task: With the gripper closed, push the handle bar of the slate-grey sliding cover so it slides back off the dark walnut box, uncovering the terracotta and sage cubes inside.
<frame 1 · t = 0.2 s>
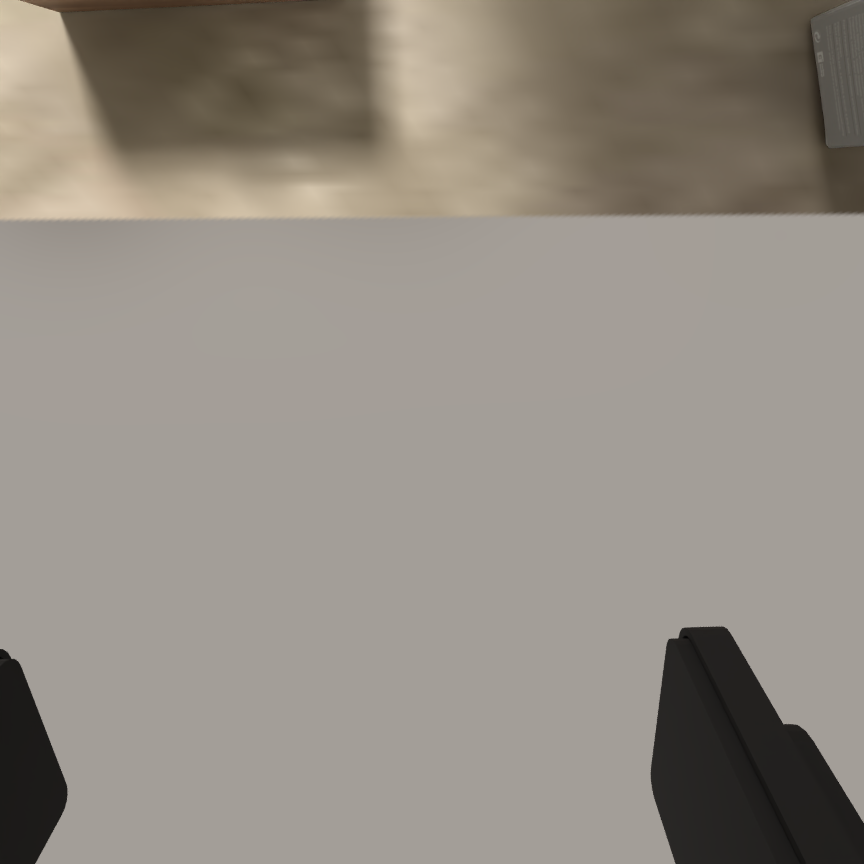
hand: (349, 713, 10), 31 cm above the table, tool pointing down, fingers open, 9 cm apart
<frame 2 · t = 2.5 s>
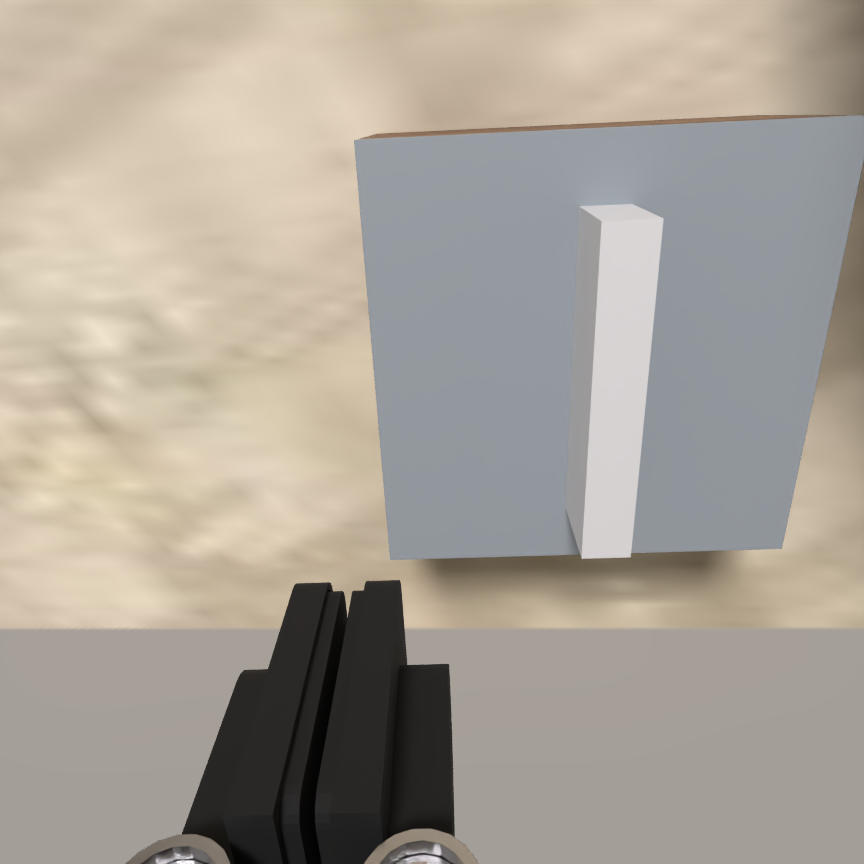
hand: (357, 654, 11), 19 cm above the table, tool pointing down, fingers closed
cover: (602, 382, 20), point 8 cm above the table, slide at 0.0 cm
box: (559, 310, 28), on the table
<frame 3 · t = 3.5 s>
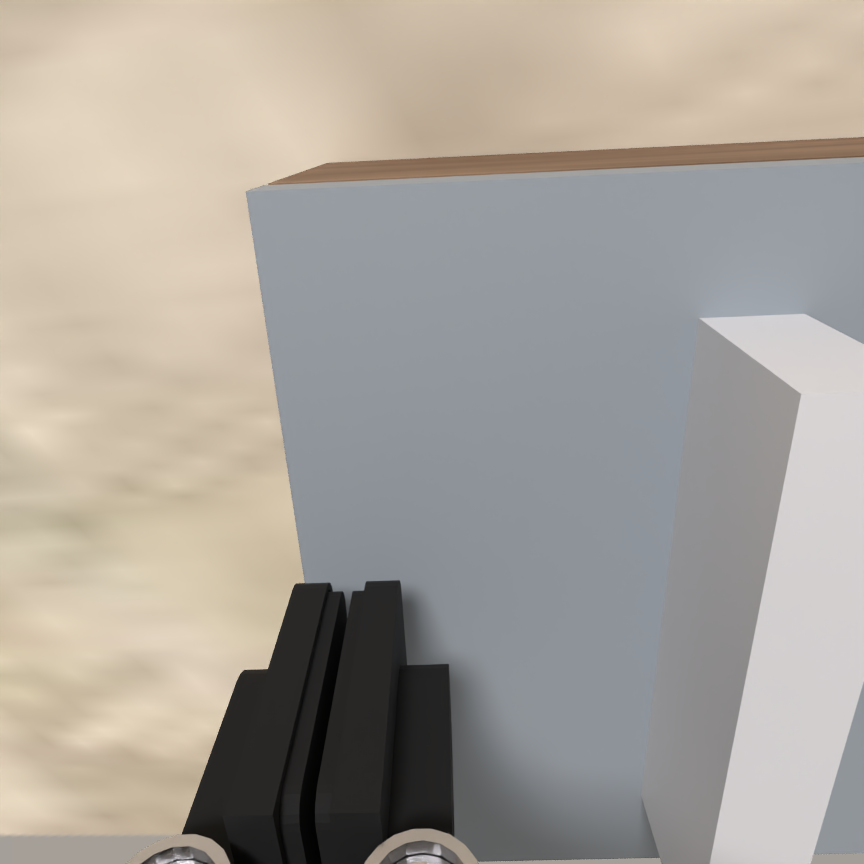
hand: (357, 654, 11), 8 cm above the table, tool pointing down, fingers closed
cover: (730, 636, 11), point 8 cm above the table, slide at 0.0 cm
box: (610, 426, 18), on the table
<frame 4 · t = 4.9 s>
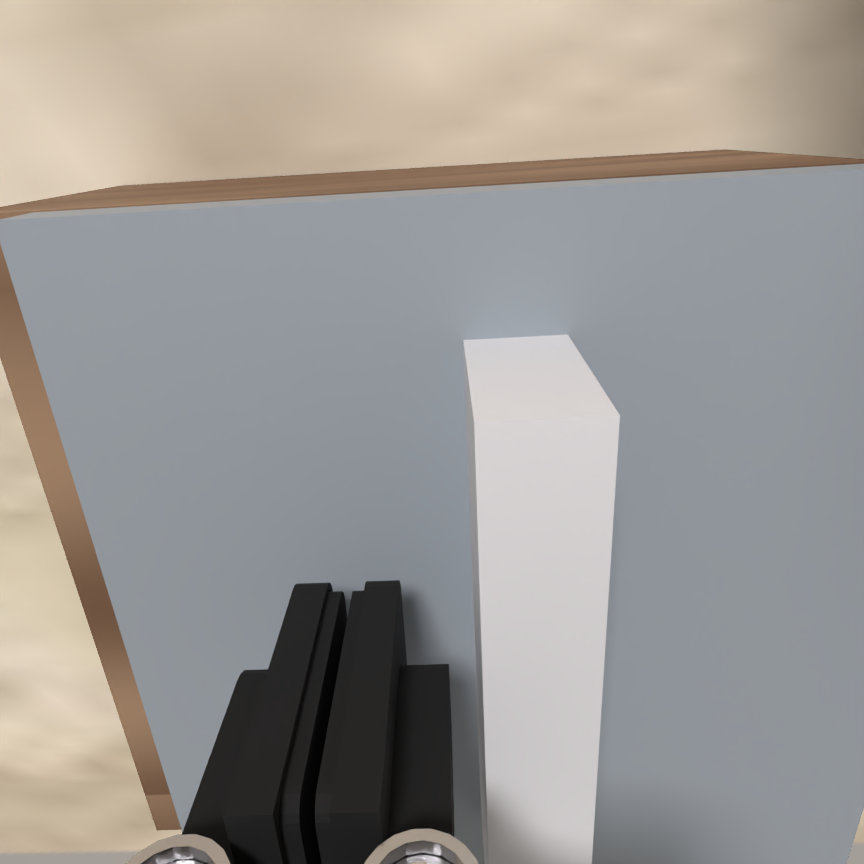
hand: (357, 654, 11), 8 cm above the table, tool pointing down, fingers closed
cover: (523, 656, 11), point 8 cm above the table, slide at 1.4 cm, touching gripper
box: (435, 442, 18), on the table
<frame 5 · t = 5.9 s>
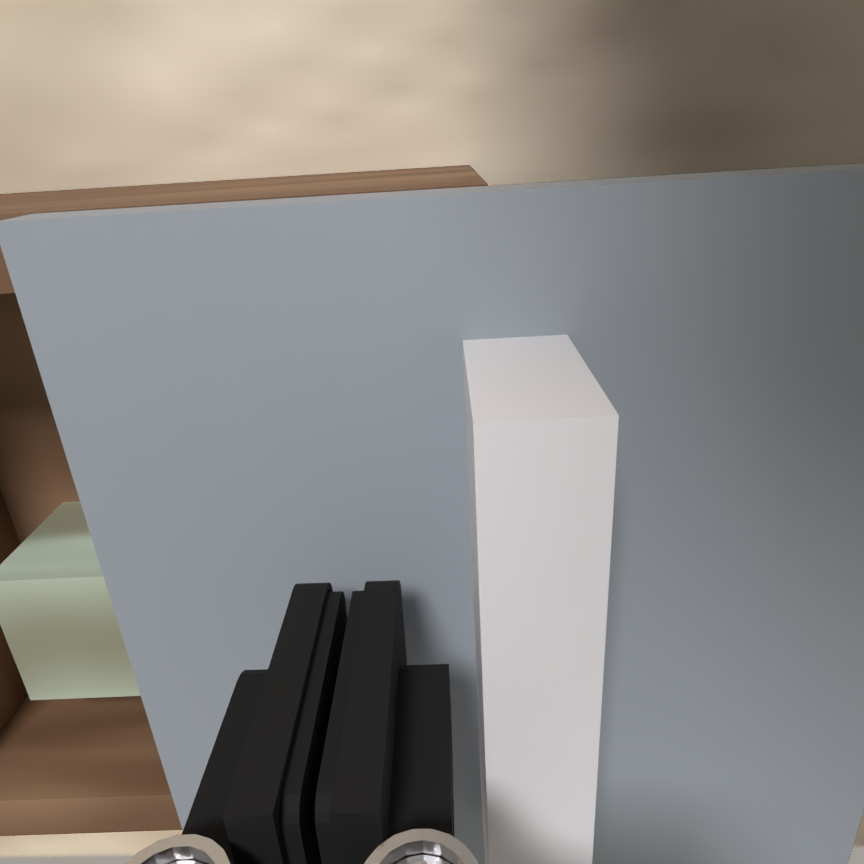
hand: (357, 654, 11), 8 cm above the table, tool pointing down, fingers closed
cover: (523, 656, 11), point 8 cm above the table, slide at 7.3 cm, touching gripper
box: (224, 452, 19), on the table
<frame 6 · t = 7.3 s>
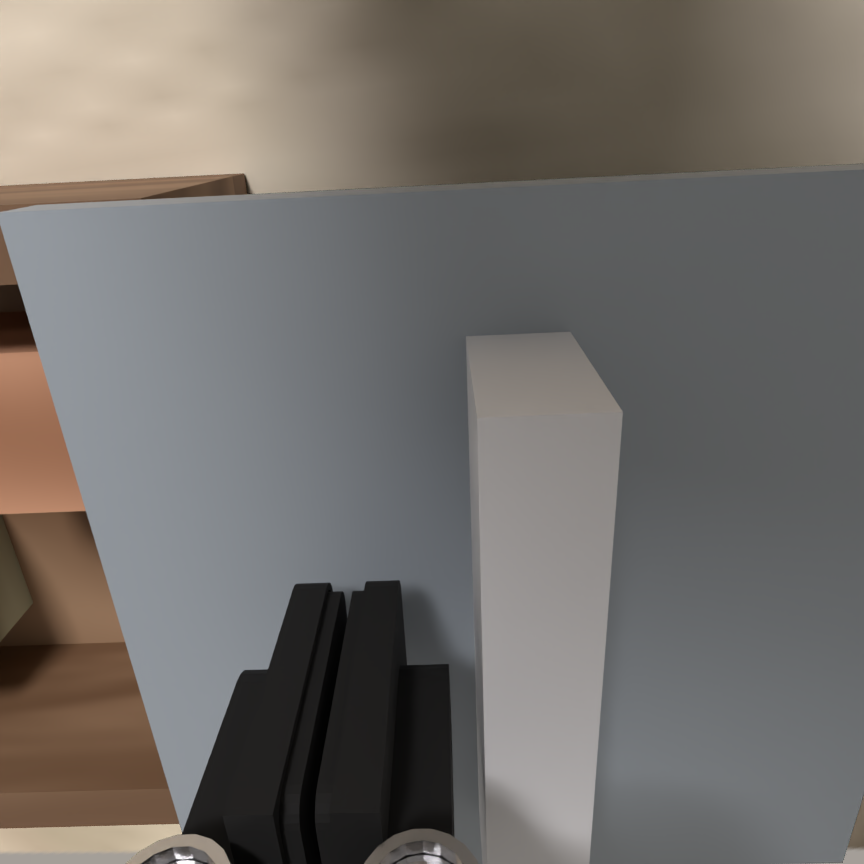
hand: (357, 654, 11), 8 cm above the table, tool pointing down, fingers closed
cover: (523, 652, 11), point 8 cm above the table, slide at 12.6 cm, touching gripper
box: (34, 455, 19), on the table
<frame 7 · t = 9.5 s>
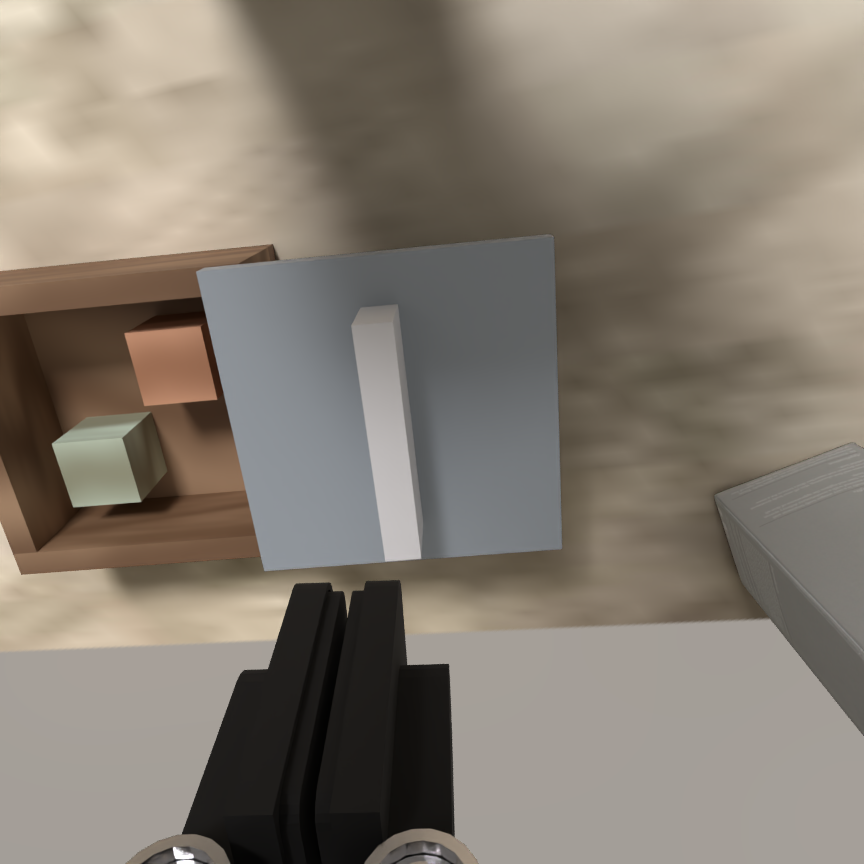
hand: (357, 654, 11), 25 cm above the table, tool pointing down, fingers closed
skincare box: (793, 503, 39), on the table
cover: (392, 430, 28), point 8 cm above the table, slide at 12.7 cm
box: (168, 390, 36), on the table
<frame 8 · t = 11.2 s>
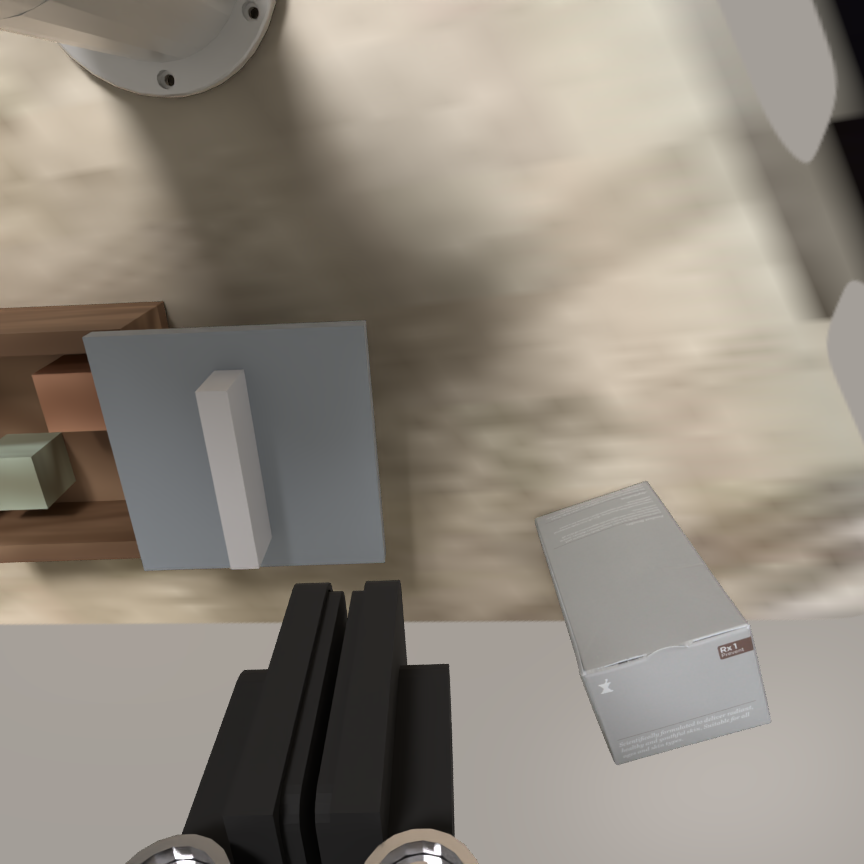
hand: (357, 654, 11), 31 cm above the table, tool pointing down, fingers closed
skincare box: (602, 527, 47), on the table
cover: (239, 467, 35), point 8 cm above the table, slide at 12.7 cm
box: (77, 414, 43), on the table
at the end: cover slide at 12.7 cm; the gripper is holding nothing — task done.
